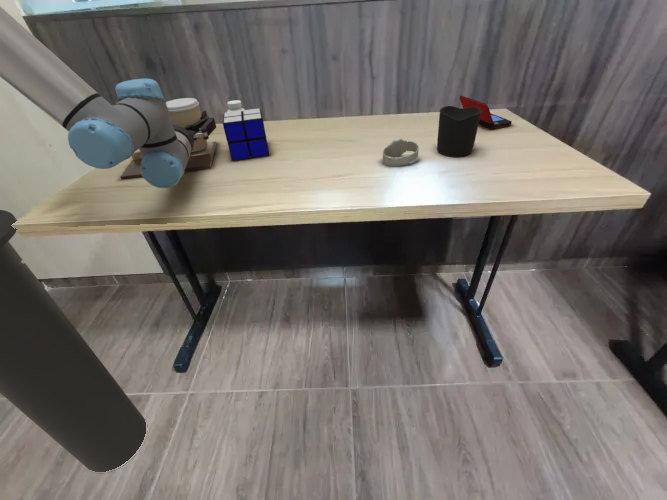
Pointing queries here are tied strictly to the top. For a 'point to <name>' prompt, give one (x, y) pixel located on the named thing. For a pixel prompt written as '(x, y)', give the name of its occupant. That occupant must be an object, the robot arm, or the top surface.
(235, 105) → the pill bottle
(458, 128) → the pen holder
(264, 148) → the puzzle cube
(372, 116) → the top surface
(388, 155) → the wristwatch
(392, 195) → the top surface
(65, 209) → the top surface
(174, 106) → the coffee cup
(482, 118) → the handheld console
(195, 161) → the letter board
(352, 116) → the top surface
